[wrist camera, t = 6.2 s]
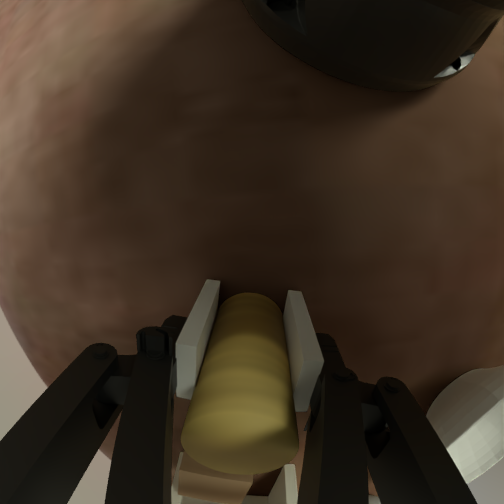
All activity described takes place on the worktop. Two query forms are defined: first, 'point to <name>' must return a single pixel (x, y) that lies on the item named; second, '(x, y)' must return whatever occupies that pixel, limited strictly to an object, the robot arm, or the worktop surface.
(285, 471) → the cream u-shaped stand
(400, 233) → the worktop surface
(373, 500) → the pump dispenser
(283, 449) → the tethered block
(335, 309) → the worktop surface
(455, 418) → the bowl
